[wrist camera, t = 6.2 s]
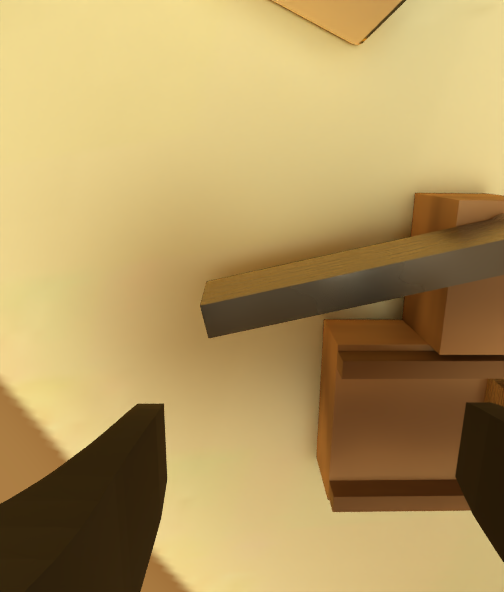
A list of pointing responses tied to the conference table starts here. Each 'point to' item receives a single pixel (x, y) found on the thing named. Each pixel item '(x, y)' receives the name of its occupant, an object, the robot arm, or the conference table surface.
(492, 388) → the wooden block
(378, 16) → the medicine bottle
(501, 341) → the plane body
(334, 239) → the conference table surface
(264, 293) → the lever
